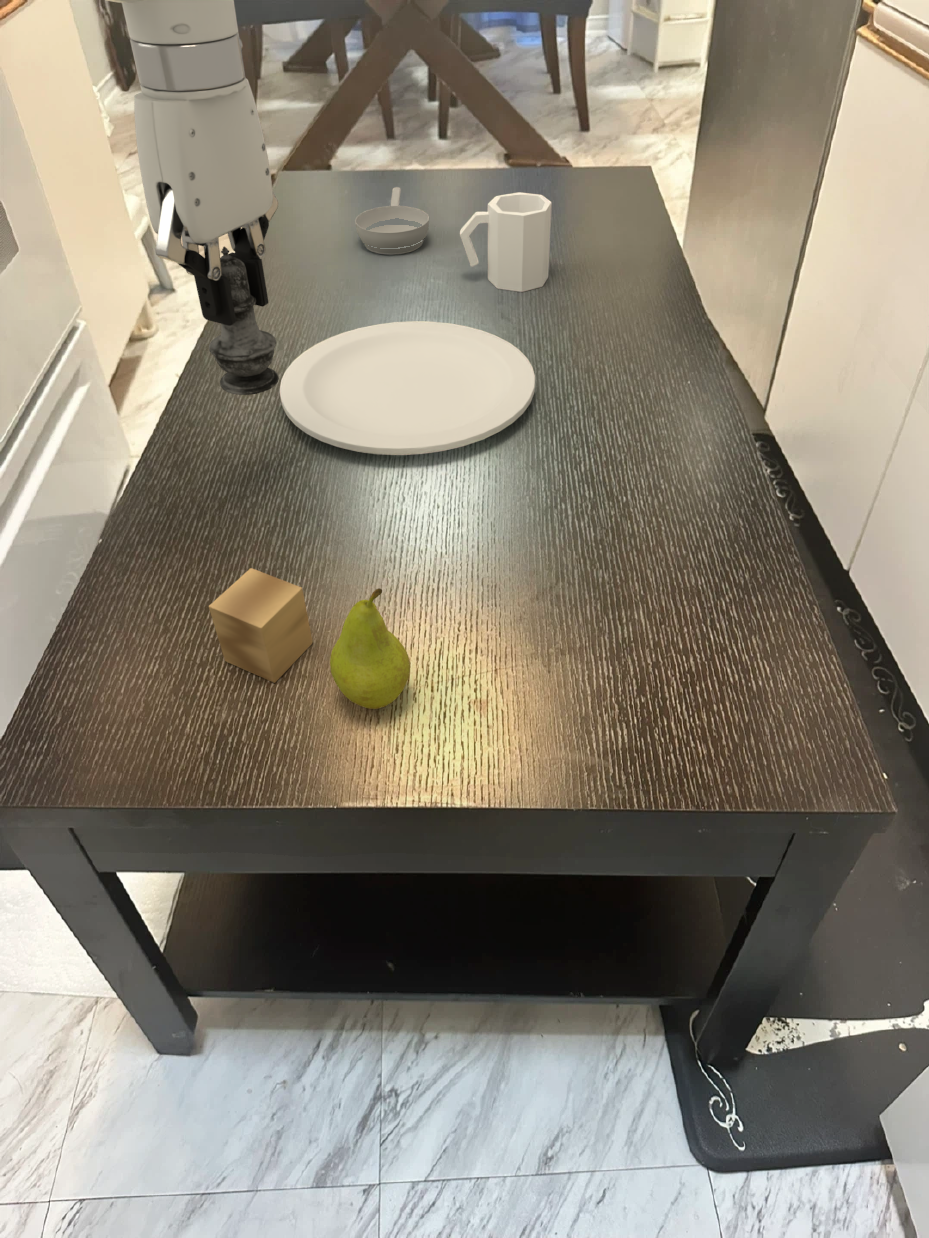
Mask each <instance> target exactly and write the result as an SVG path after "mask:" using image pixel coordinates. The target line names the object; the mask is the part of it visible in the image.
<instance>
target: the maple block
mask: <svg viewBox="0 0 929 1238" xmlns="http://www.w3.org/2000/svg"><path fill="white" fill-rule="evenodd" d="M208 609H209V613H210V616H211V619H212V623H213V627H214V629H215V632H216V636H217V641H218V642H219V646H220V650H221V653H222V656H223V659H224V662H226V663H228V664H230V665H233V666H235V667H237V668H239V669H242V670H244V671H247V672H248V673H251V674H253V675H255V676H257V677H260V678H262V679H264V680H267V681H269V682H271V683H272V684H276V683H277V681H278V680H280V678H281V677H282V676H284V674H285V673H286V672H287V671H288V670H289V669H290V668H291V667H292V666H293V665H294V664H295V663H296V661H298V659H300V657H301V656H302V655H303V654H304V653H305V652H306V651H307V650H308V649H309V648H310V647H311V646H312V644H313V641H314V640H313V636H312V635H313V634H312V631H311V627H310V626H311V625H310V621H309V616H308V615H309V614H308V611H307V606H306V600H305V595H304V589H303V587H301V586H300V585H299V586H298V585H297V584H294V583H291V582H289V581H286V580H284V579H282V578H279V577H276V576H274V575H270V574H268V573H265V572H263V571H260V570H257V569H255V568H252V567H250V568H249V569H248V570H247V571H246V572H245V573H243V574H242V575H241V576H240V577H239V578H238V579H237V580H235V581H234V583H232V584H231V585H230V586H229V587H228V588H227V589H226V590H225V591H223V592H222V593H221V594H220V595H219V596H218V597H217V598H216V599H215V600H213V601H212V602H211V603H210V604H209V605H208Z"/></svg>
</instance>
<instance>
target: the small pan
mask: <svg viewBox="0 0 929 1238" xmlns="http://www.w3.org/2000/svg"><path fill="white" fill-rule="evenodd" d="M391 191H392V192H391V198H390V204H389V205H386V206H379V207H373V208H371V209H367V210H364V211H362V212H361V213H359V214H358V215H357V216H356V217H355V219H354V223H355V228H356V229H355V230H356V232H357V235H358V237H359V239H360V241H361V242H362V243H363V244H364V243H365V244H364V246H365V248H366V249H367V250H368V251H370V252H372V253H375V254H381V255H388V256H389V255H390V256H391V255H403V254H407V253H411V252H414V251H416V250H418V249H420V248H421V247H422V245H423V243H424V242H425V239H426V237H427V235H428V233H429V227H430V216H429V214H428V213H427V212H426V211H424V210H423V209H420V208H418V207H417V208H416V207H413V206H405V205H400V203H401V201H400V200H401V194H402V193H401V192H402V188H401V187H399V186H395V187H393V188H392V190H391ZM395 218H399V219H404V220H408V221H415V222H418V223H420V224H422V226H420V227H418V228H417V227H414V226H409V225H384V226H379V227H375V228H372V229H370V230H366V228H367V227H369V226H371V225H372V224H374V223H377V222H379V221H385V220H390V219H395ZM424 238H425V239H424ZM423 239H424V240H423ZM421 240H423V241H422V242H420V241H421ZM418 242H420V243H418ZM416 243H418V244H416ZM413 244H416V245H414V246H411V245H413ZM368 245H369V246H368ZM371 246H373V247H371ZM404 246H410V247H406V248H400V249H380V248H398V247H404ZM374 247H377V248H374Z"/></svg>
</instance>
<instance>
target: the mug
mask: <svg viewBox="0 0 929 1238" xmlns="http://www.w3.org/2000/svg"><path fill="white" fill-rule="evenodd" d="M552 203H553V201H550V199H548V198H546V197H545V195H543V194H537V193H530V192H529V193H528V192H522V191H521V192H520V191H519V192H513V193H507V194H501V195H495V196H494V197H493V198H492V199H491V200H490V201H489V202H488V203H487V211H475V212H474V213H473V215H472V216H470V218H469V219H468V220H467V221H466V222H465V224H464V225H463V226H462V227H461V229H460V230H459V237H460V239H461V242H462V245H463V248H464V251H465V255H466V257H467V260H468V263H469V266H470V268H473V267H475V266H477V265H478V264H479V263H480V261H479V257H478V254H477V252H476V249H475V247H474V244H473V241H472V238H471V237H470V235H471V234H472V233H473V232H474V231H475V229H476V228H477V226H478V225H479V224H487V280H488V281H489V282H490V283H491V284H492V285H493V286H494V287H495V288H496V289H498V290H504V291H510V292H511V291H512V292H520V293H523V292H527V291H532V290H535V289H539V288H543V287H544V285H545V283H546V282H547V280H548V278H549V270H550V247H551V228H552V227H551V223H552V206H553V205H552Z"/></svg>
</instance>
